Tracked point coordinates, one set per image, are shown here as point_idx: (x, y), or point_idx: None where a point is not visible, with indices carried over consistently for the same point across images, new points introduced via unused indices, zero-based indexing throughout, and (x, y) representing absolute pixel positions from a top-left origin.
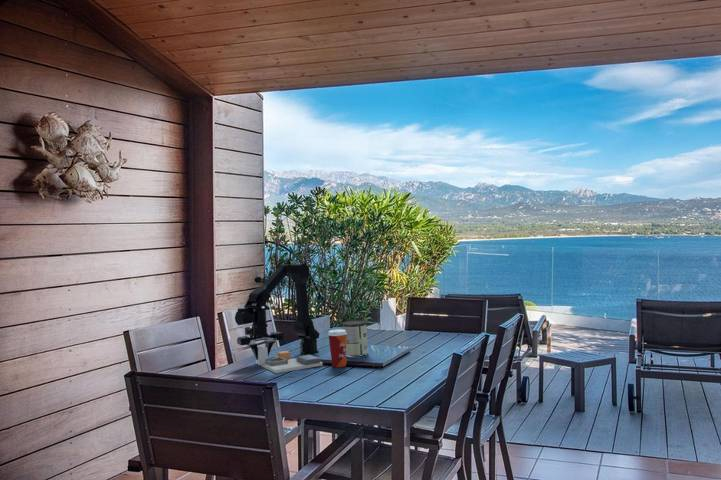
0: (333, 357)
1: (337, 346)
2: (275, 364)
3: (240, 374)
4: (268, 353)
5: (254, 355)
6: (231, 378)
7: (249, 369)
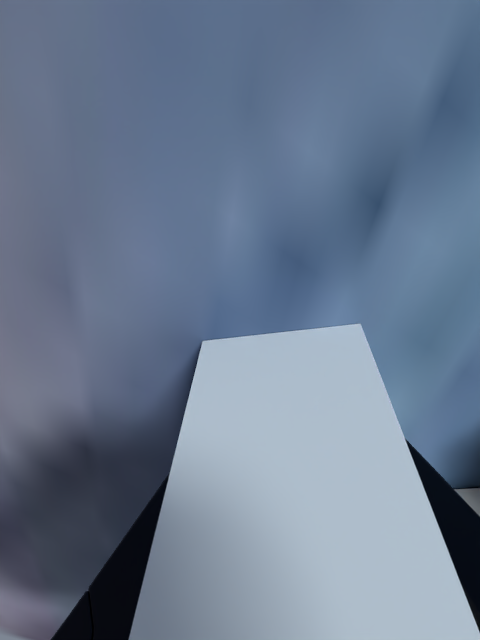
0: None
1: None
2: None
3: (50, 597)
4: None
5: (146, 517)
6: (5, 630)
7: (112, 527)
